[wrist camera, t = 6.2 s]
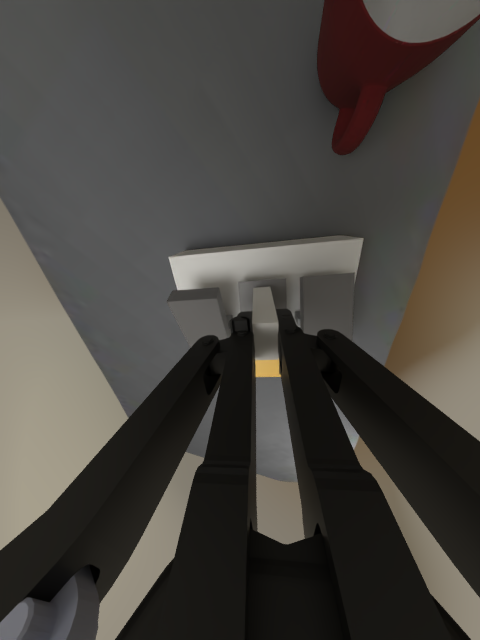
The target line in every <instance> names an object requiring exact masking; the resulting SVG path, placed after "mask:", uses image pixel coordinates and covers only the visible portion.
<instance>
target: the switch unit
mask: <svg viewBox="0 0 480 640" xmlns="http://www.w3.org/2000/svg"><path fill="white" fill-rule="evenodd" d="M363 239H364V238H358V237H352V236H345V235H336V236H326V237H316V238H306V239H296V240H286V241H276V242H266V243H256V244H246V245H236V246H226V247H216V248H206V249H196V250H186V251H183V252H180V253H178V254H175V255H173V256H170V257H169V261H170V264H171V268H172V272H173V275H174V279H175V283H176V286H177V290H188V289H202V288H216V287H219V289H220V293H221V297H222V301H223V305H224V309H225V314H226V318H227V322H228V326H229V330H230V334H231V329H230V322H229V321H230V320H231V319H232V318H234V317H237V315H238V314H239V313H240V301H239V288H238V282H239V281H249V280H262V279H275V278H286V296H287V309H289V310H290V311H291V312H292V315H293V317H294V320H295V322H296V325H297V326H298V327H300V277H303V276H314V275H328V274H341V273H354V272H355V279H356V274H357V269H358V264H359V259H360V254H361V249H362V244H363ZM354 284H355V281H354Z"/></svg>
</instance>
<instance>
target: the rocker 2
mask: <svg viewBox="0 0 480 640" xmlns="http://www.w3.org/2000/svg"><path fill="white" fill-rule="evenodd" d="M258 287H270V288H271V292H272V297H273V301H274V305H275V309H286V308H287V296H286V278H275V279H262V280H249V281H239V282H238V288H239V301H240V312H244V311H253V288H258ZM255 365H256V377H281V374H279V360H255Z"/></svg>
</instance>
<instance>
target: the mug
mask: <svg viewBox="0 0 480 640" xmlns="http://www.w3.org/2000/svg"><path fill="white" fill-rule="evenodd" d="M479 19H480V0H324V7H323V14H322V21H321V28H320V35H319V41H318V52H317V69H318V77H319V81H320V85H321V88H322V91H323V93H324V95H325V96H326V98H327V99H328V100H329V101H330V102H331V103H332V104H333V105H334V106H336V107H337V108H339V109H340V111H339V115H338V119H337V122H336V126H335V129H334V133H333V139H332V149H333V151H334V152H335V153H336V154H339V155H346V154H349V153H351V152H353V151H354V150H355V149H356V148H357V147H358V146H359V145H360V143H361V142H362V141H363V139H364V138H365V136H366V135H367V133H368V131H369V129H370V128H371V126H372V124H373V122H374V120H375V118H376V116H377V114H378V111H379V109H380V107H381V104H382V101H383V98H384V96H385V93H386V92H388V91H390V90H391V89H393V88H394V87H396V86H397V85H399V84H401V83H402V82H404V81H405V80H407V79H409V78H410V77H412V76H413V75H415V74H416V73H418V72H419V71H420V70H422V69H423V68H424V67H426V66H427V65H428V64H430V63H431V62H432V61H433V60H435V59H436V58H437V57H438V56H439V55H441V54H442V53H443V52H444V51H445V50H447V49H448V48H449V47H450V46H451V45H452V44H453V43H454V42H455V41H456V40H457V39H459V38H460V37H461V36H462V35H463V34H464V33H465V32H466V31H467V30H468V29H469V28H470V27H471V26H472V25H473V24H474V23H476V22H477V21H478V20H479Z"/></svg>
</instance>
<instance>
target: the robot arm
mask: <svg viewBox="0 0 480 640" xmlns="http://www.w3.org/2000/svg"><path fill="white" fill-rule="evenodd" d="M229 322H230V329H231V336H230V337H228V338H226V339H222V340H219V339H218V337H217V336H215V335H207V336H203V337H201V338H200V339H198V340H197V341H196V343H195V344H194V345H193V346H192V347H191V348H190V349H189V351H188V352H187V353H186V354H185V355H184V356H183V357H182V358H181V360H180V361H179V362H178V363H177V364H176V365H175V366H174V368H173V369H172V370H171V371H170V372H169V373H168V374H167V375H166V377H165V378H164V379H163V380H162V381H161V382H160V383H159V385H158V386H157V387H156V388H155V389H154V390H153V391H152V392H151V394H150V395H149V396H148V397H147V398H146V399H145V400H144V402H143V403H142V404H141V405H140V406H139V407H138V408H137V409H136V411H135V412H134V413H133V414H132V415H131V416H130V417H129V419H128V420H127V421H126V422H125V423H124V424H123V425H122V426H121V428H120V429H119V430H118V431H117V432H116V433H115V434H114V436H113V437H112V438H111V439H110V440H109V441H108V443H107V444H106V445H105V446H104V447H103V448H102V449H101V450H100V451H99V453H98V454H97V455H96V456H95V457H94V458H93V459H92V460H91V462H90V463H89V464H88V465H87V466H86V467H85V469H84V470H83V471H82V472H81V473H80V474H79V475H78V476H77V477H76V479H75V480H74V481H73V482H72V483H71V484H70V485H69V487H68V488H67V489H66V490H65V491H64V492H63V493H62V495H61V496H60V497H59V498H58V499H57V500H56V501H55V502H54V504H53V505H52V506H51V507H50V508H49V509H48V510H47V511H46V512H45V513H44V514H43V515H41V516H40V517H39V518H38V519H37V520H36V521H34V522H33V523H32V524H31V525H30V526H29V527H27V528H26V529H25V530H24V531H23V532H22V533H21V534H20V535H18V536H17V537H16V538H14V540H12V541H11V542H10V543H9V544H8V545H6V546H5V547H4V548H3V549H2V550H0V640H95V639H96V634H97V630H98V614H99V606H100V605H99V604H100V602H101V601H102V599H103V598H104V597H105V595H106V594H107V592H108V591H109V590H110V588H111V587H112V585H113V584H114V582H115V581H116V579H117V578H118V576H119V574H120V573H121V571H122V570H123V568H124V566H125V565H126V563H127V562H128V560H129V558H130V557H131V555H132V553H133V551H134V549H135V547H136V546H137V544H138V542H139V540H140V539H141V537H142V535H143V533H144V531H145V529H146V527H147V525H148V523H149V521H150V519H151V517H152V516H153V513H154V512H155V510H156V508H157V506H158V504H159V502H160V500H161V498H162V496H163V494H164V492H165V490H166V488H167V486H168V484H169V483H170V481H171V479H172V477H173V475H174V473H175V471H176V469H177V467H178V465H179V463H180V461H181V459H182V457H183V456H184V453H185V452H186V450H187V448H188V446H189V444H190V442H191V440H192V438H193V436H194V434H195V432H196V430H197V428H198V426H199V425H200V423H201V421H202V419H203V417H204V415H205V413H206V411H207V409H208V407H209V405H210V403H211V401H212V399H213V397H214V395H215V394H216V392H217V390H218V388H219V386H220V388H219V393H218V398H217V402H216V407H215V412H214V417H213V421H212V426H211V431H210V435H209V440H208V445H207V449H206V454H205V458H204V461H203V463H202V464H201V465H200V466H199V467H198V468H197V470H196V472H195V476H194V479H193V483H192V487H191V490H190V495H189V499H188V503H187V508H186V511H185V515H184V520H183V524H182V528H181V533H180V536H179V541H178V545H177V549H176V553H175V557H174V559H173V560H172V561H171V562H170V563H169V565H167V567H166V568H165V569H164V571H163V572H162V573H161V575H160V576H159V578H158V579H157V581H156V582H155V583H154V585H153V586H152V588H151V589H150V590H149V592H148V594H147V595H146V596H145V598H144V599H143V601H142V602H141V603H140V605H139V606H138V608H137V609H136V610H135V612H134V613H133V615H132V616H131V618H130V619H129V620H128V622H127V623H126V625H125V626H124V628H123V629H122V630H121V632H120V633H119V635H118V636H117V638H116V639H115V640H471V639H470V638H469V637H468V635H467V634H466V633H465V632H464V631H463V630H462V629H461V628H460V626H459V625H458V624H457V623H456V622H455V621H454V620H453V618H452V617H451V616H450V615H449V614H448V613H447V612H446V611H445V610H444V608H443V607H442V606H441V605H440V604H439V603H438V602H437V600H436V599H435V598H434V597H433V596H432V595H431V594H430V592H429V590H428V588H427V586H426V584H425V581H424V579H423V577H422V575H421V573H420V571H419V569H418V566H417V564H416V562H415V560H414V558H413V556H412V554H411V552H410V549H409V547H408V545H407V543H406V541H405V539H404V537H403V534H402V532H401V530H400V528H399V526H398V524H397V522H396V520H395V517H394V515H393V513H392V511H391V509H390V507H389V505H388V503H387V500H386V498H385V496H384V494H383V492H382V490H381V488H380V486H379V485H378V483H377V481H376V480H375V478H374V477H373V476H372V474H371V473H369V472H367V471H365V470H364V469H363V468H362V467H361V465H360V463H359V462H358V459H357V457H356V455H355V452H354V450H353V448H352V445H351V443H350V441H349V438H348V436H347V434H346V431H345V429H344V426H343V424H342V422H341V419H340V417H339V415H338V412H337V410H336V408H335V405H334V403H333V401H332V399H333V400H334V402H335V403H336V404H337V406H338V407H339V408H340V410H341V411H342V412H343V414H344V415H345V417H346V418H347V419H348V421H349V422H350V423H351V425H352V426H353V427H354V429H355V430H356V432H357V433H358V434H359V436H360V437H361V438H362V440H363V441H364V442H365V444H366V445H367V447H368V448H369V449H370V451H371V452H372V453H373V455H374V456H375V457H376V459H377V460H378V462H379V463H380V464H381V466H382V467H383V468H384V469H385V471H386V472H387V474H388V475H389V477H390V478H391V479H392V481H393V482H394V483H395V485H396V486H397V487H398V489H399V490H400V492H401V493H402V494H403V496H404V497H405V498H406V500H407V501H408V503H409V504H410V505H411V507H412V508H413V509H414V511H415V512H416V513H417V515H418V516H419V518H420V519H421V520H422V522H423V523H424V524H425V526H426V527H427V528H428V530H429V531H430V532H431V534H432V535H433V536H434V538H435V539H436V541H437V542H438V543H439V545H440V546H441V547H442V549H443V550H444V552H445V553H446V554H447V556H448V557H449V558H450V560H451V561H452V563H453V564H454V565H455V566H456V568H457V569H458V570H459V572H460V573H461V574H462V575H463V577H464V578H465V579H466V581H467V582H468V583H469V585H470V586H471V587H472V588H473V590H474V591H475V592H476V594H477V595H478V596H479V597H480V441H478V440H477V439H476V438H474V437H473V436H472V435H471V434H469V433H468V432H467V431H466V430H464V429H463V428H462V427H460V426H459V425H458V424H457V423H455V422H454V421H453V420H452V419H450V418H449V417H448V416H446V415H445V414H444V413H443V412H441V411H440V410H439V409H438V408H436V407H435V406H434V405H432V404H431V403H430V402H429V401H427V400H426V399H425V398H423V397H422V396H421V395H420V394H418V393H417V392H416V391H414V390H413V389H412V388H410V386H408V385H407V384H406V383H404V382H403V381H402V380H401V379H399V378H398V377H397V376H395V375H394V374H393V373H392V372H390V371H389V370H388V369H387V368H385V367H384V366H383V365H381V364H380V363H379V362H378V361H376V360H375V359H374V358H373V357H371V356H370V355H369V354H367V353H366V352H365V351H364V350H362V349H361V348H360V347H359V346H357V345H356V344H355V343H353V342H352V341H351V340H350V339H348V338H347V337H346V336H344V335H343V334H342V333H340V332H339V331H336V330H333V329H323V330H320V331H318V332H317V336H316V335H309V334H305V333H303V330H302V329H301V328H300V327H298V326H297V325H296V322H295V320H294V317H293V315H292V312H291V311H290V310H289V309H287V308H286V309H275V305H274V301H273V297H272V292H271V288H270V287H258V288H253V311H244V312H240V313H239V314H238V315H237V317H234V318H232V319H231V320H230V321H229ZM255 360H279V374H281V379H282V386H283V392H284V398H285V404H286V411H287V417H288V423H289V429H290V435H291V442H292V448H293V454H294V460H295V467H296V473H297V479H298V485H299V491H300V498H301V504H302V514H303V526H304V535H305V539H303V540H300V541H297V542H294V543H292V544H288V545H287V544H282V543H279V542H278V541H275V540H273V539H271V538H269V537H267V536H265V535H263V534H261V533H259V532H257V506H256V365H255ZM331 397H332V398H331Z"/></svg>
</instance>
